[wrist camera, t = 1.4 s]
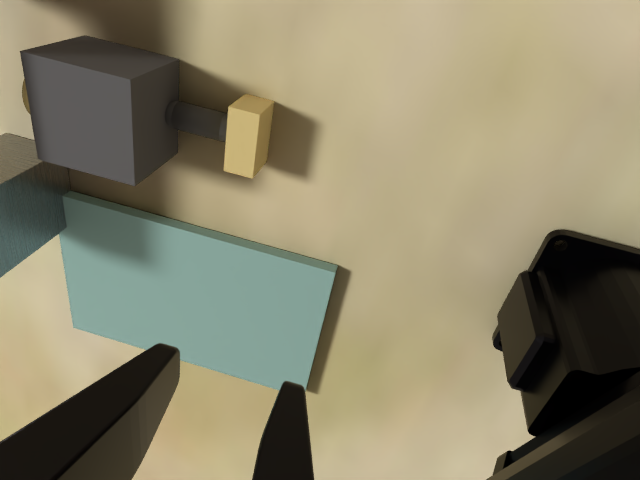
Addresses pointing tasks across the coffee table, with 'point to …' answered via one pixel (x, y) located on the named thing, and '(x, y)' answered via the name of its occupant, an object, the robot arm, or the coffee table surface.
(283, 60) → the coffee table surface
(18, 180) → the housing
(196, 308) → the mat
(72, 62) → the plug
